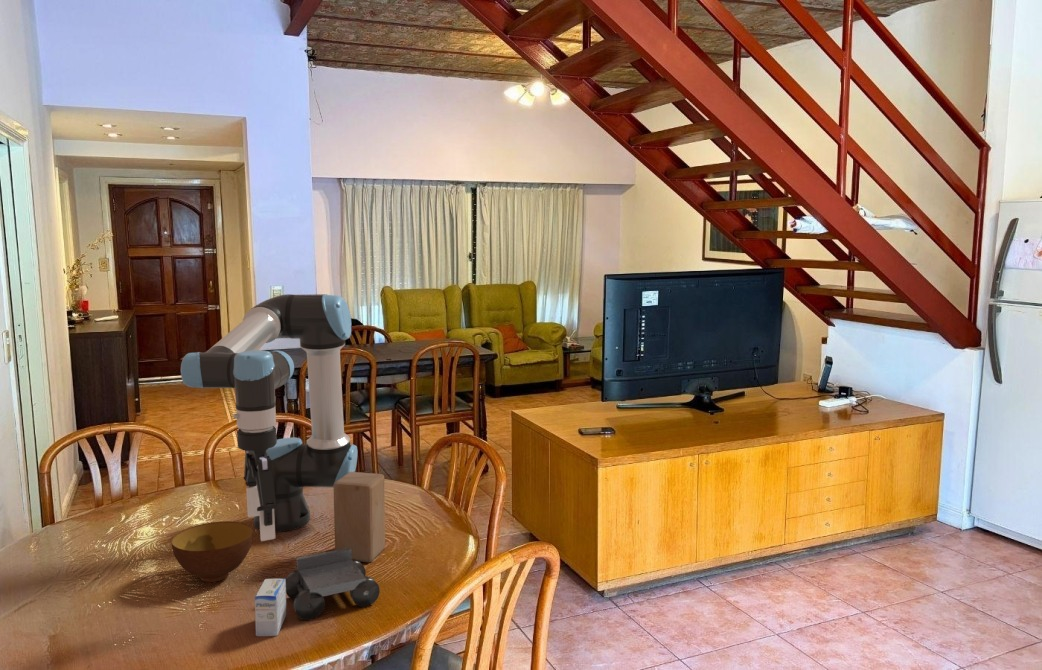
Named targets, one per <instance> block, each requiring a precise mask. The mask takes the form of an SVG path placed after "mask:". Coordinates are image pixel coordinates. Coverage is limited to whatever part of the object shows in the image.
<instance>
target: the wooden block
mask: <svg viewBox="0 0 1042 670" xmlns="http://www.w3.org/2000/svg"><path fill="white" fill-rule="evenodd" d="M385 493H386V491H385V475H384V474H382V473H372V472H371V473H370V472H369V473H368V472H359V471H358V472H357V471H355V472H349V473H347V474H346V475H345V476H343V477H342V478H340V479H339V480H338V481H336V482H335V483H334V488H333V516H334V517H333V520H334V522H333V523H334V525H333V526H334V550H339V549H344V548H349V547H350V548H351V556H352V559H356V560H358V561H360V562H361V563H371V562H373V561H374V560H375V559H376V558H377V557H378V555H380V554H381V552H382V551H384V550H385V547H386V509H385V508H386V507H385V503H386V502H385V501H386V500H385Z"/></svg>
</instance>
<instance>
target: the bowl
mask: <svg viewBox="0 0 1042 670" xmlns="http://www.w3.org/2000/svg"><path fill="white" fill-rule="evenodd" d="M253 536H254V530H253V527H252V526H250V525H249V524H247V523H245V522H244V523H243V522H240V521H230V520H229V521H228V520H227V521H226V520H223V521H212V522H205V523H201V524H197V525H193V526H191V527H188V528H185V529H183V530H181V531H179V532H177V533H176V534H174V536H173V537H172V538H171V550H172V552H173V555H174V557H175V559H176V562H178V564H179V566H181V568H182V569H183V570H185V571H186V573H188V574H190V575H192V576H193V577H194V576H195V577H197V578H200V580H201V581H203V582H206V583H207V582H208V583H209V582H210V583H211V582H213V583H214V582H220V581H221V580H224V579H226V578H228V576H229V574H230V573H231V572H233V571H235V570H236V569H237V568H238V567H240V565H241V564H242V563H243V561H245V560H244V559H246V557H247V555H248V553H249V551H250V549H251V546H252V543H253V538H254V537H253Z"/></svg>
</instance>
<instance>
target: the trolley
mask: <svg viewBox="0 0 1042 670" xmlns="http://www.w3.org/2000/svg"><path fill="white" fill-rule="evenodd" d="M366 572H367V571H366V568H365V566H364V564H363V563H362V562H360V561H358V560H356V559H352V556H351V548H350V547H349V548H344V549H339V550H335V549H334V550H331V551H330V550H329V551H324V552H318V553H314V554H309V555H303V556H299V557H296V570H294V571H291V572H290V573H289V574H288V575H286V577H285V578H284V579H285V580H286V596H287V597H289V599H291V600H293V610H294V611H295V614H296V615H297V616H298V618H300V619H301V620H303V621H311V620H314V619H316V618H318V617H319V616H320V615H321V614H322V612H324V608H325V602H326V601H325V598H324V597H327V596H331V595H335V594H340V593H345V592H349V595H350V597H351V599H352V601H353V602H354V604H355V605H356V606H357V607H360V608H364V607H365V608H366V607H369V606H372V605H373V604H374V603H375V602H376V601H377V600H378V598H379V595H380V592H381V591H380V590H381V589H380V586H379V584H378V583H377V581H376V580H375V578H373V577H371V576H367V575H366V574H367V573H366ZM310 619H311V620H310Z"/></svg>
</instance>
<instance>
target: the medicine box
mask: <svg viewBox="0 0 1042 670" xmlns="http://www.w3.org/2000/svg"><path fill="white" fill-rule="evenodd" d="M254 610H255V611H254V613H255V617H254V618H255V619H254V620H255V636H256V637H276V636H277V637H278V635H279V632H280V630H281V628H282V627H283V623H284V622H285V619H286V617H287V594H286V580H285V578H265V579H264V581H262V583H261V585H260V587H259V589H258V591H257V592H256V594H255V596H254Z"/></svg>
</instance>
